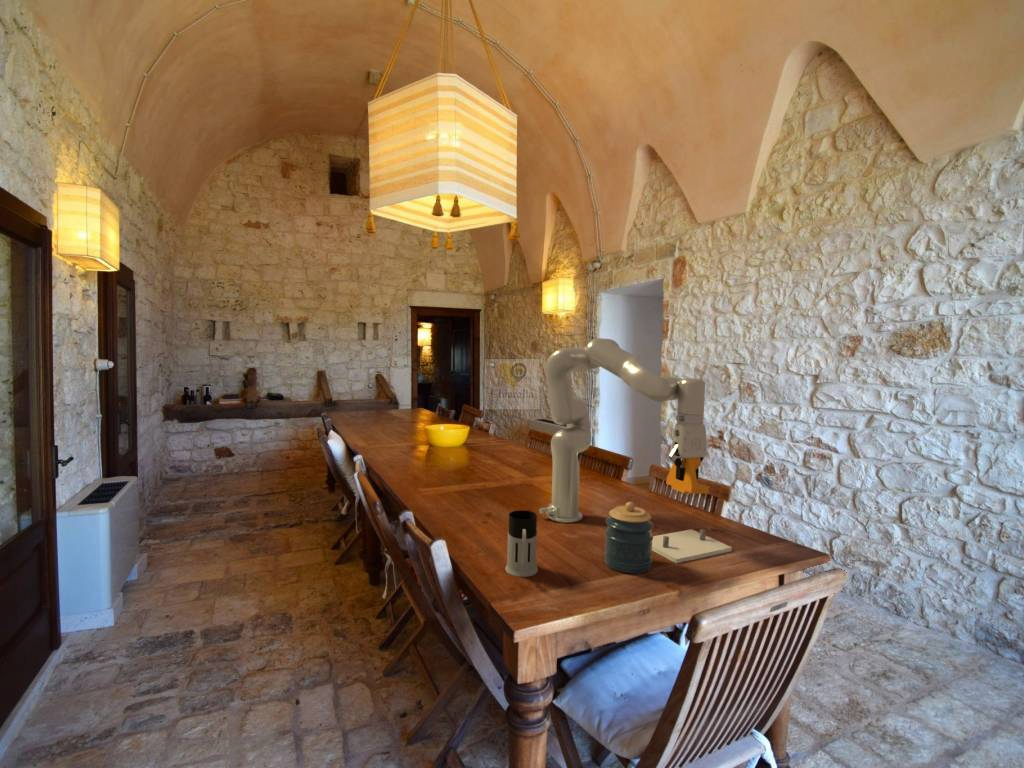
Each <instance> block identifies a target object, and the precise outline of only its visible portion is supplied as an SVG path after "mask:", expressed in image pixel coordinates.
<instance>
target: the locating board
mask: <svg viewBox="0 0 1024 768" xmlns="http://www.w3.org/2000/svg"><path fill="white" fill-rule="evenodd" d="M706 531H707V530H706V529H703V528H702V529H700V530H699V532H698V531H696V530H694V529H686V530H682V531H681V530H679V531H674V532H669V533H665V534H660V535H659V534H658V535H654V536H653V540H652V552H655V553H657V554H659V555H660V556H661V557H664V558H666V559H667V560H669V561H671V562H672V563H674V562H675V564H679V563H685V562H689V560H690V561H693V560H698V559H702V558H703V559H704V558H707V557H712V556H717V555H720V554H726V553H731V552H732V551H733V547H732V546H729V545H727V544H725V543H723V542H720V541H718V540H716V539H714V538H712V537H710V536H707V535H706V533H707V532H706ZM684 561H685V562H684Z"/></svg>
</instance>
